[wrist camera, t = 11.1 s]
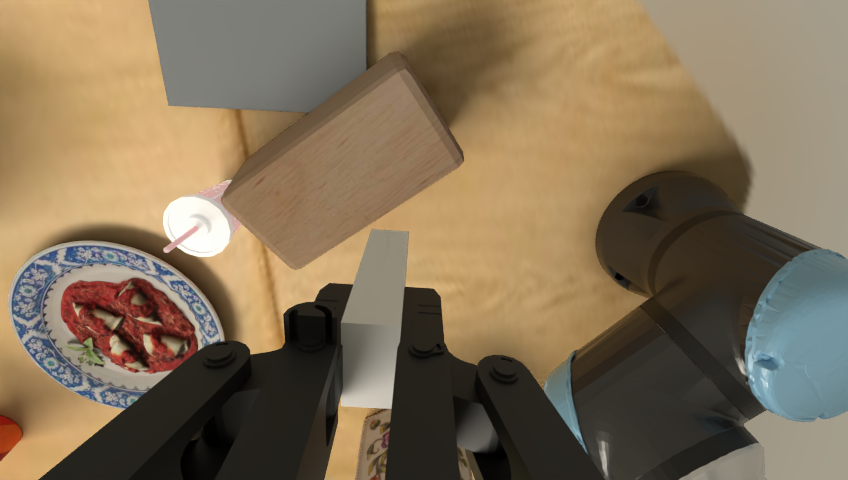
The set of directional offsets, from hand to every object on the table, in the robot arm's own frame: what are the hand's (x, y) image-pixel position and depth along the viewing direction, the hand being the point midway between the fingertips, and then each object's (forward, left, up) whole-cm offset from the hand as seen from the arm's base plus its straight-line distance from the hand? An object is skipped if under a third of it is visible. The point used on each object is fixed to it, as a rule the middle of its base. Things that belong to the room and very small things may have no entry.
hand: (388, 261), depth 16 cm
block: (-3, -5, -24) cm, 24 cm away
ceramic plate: (+35, +25, -30) cm, 53 cm away
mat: (+14, -9, -29) cm, 34 cm away
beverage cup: (+19, +7, -30) cm, 36 cm away
